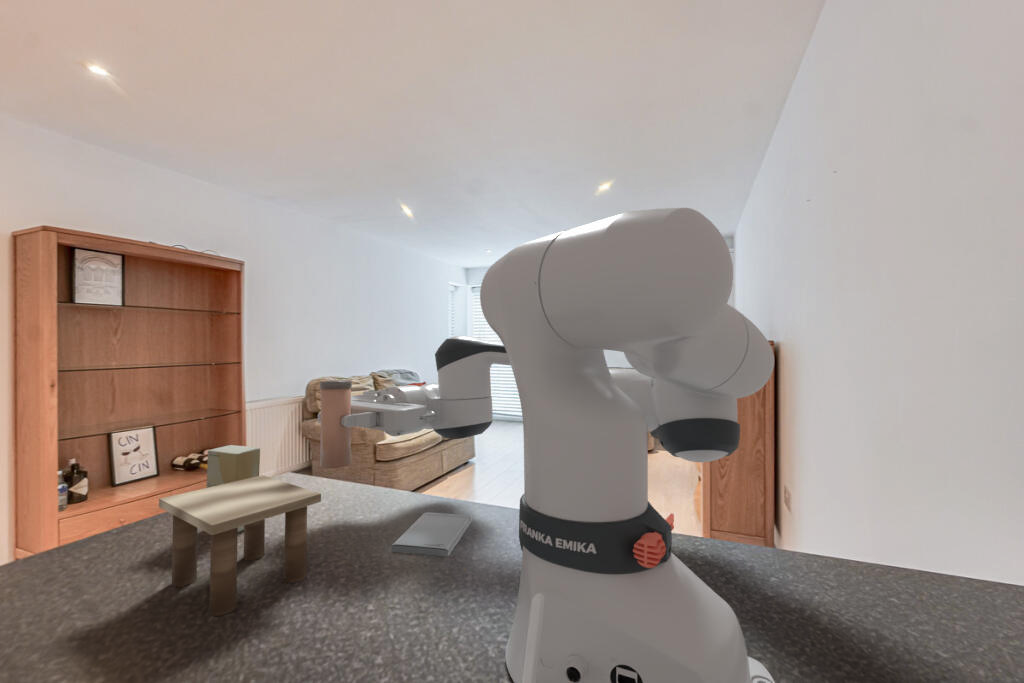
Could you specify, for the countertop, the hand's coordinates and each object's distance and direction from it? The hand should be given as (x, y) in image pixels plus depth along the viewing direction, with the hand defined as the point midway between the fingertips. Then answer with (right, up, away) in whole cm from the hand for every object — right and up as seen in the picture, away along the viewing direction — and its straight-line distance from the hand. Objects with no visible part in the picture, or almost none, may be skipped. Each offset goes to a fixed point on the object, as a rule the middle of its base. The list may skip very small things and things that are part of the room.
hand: (331, 419), depth 69 cm
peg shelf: (-5, -17, -15) cm, 23 cm away
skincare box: (-16, -17, +1) cm, 23 cm away
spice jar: (+1, -7, +1) cm, 7 cm away
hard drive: (+16, -18, -2) cm, 24 cm away
